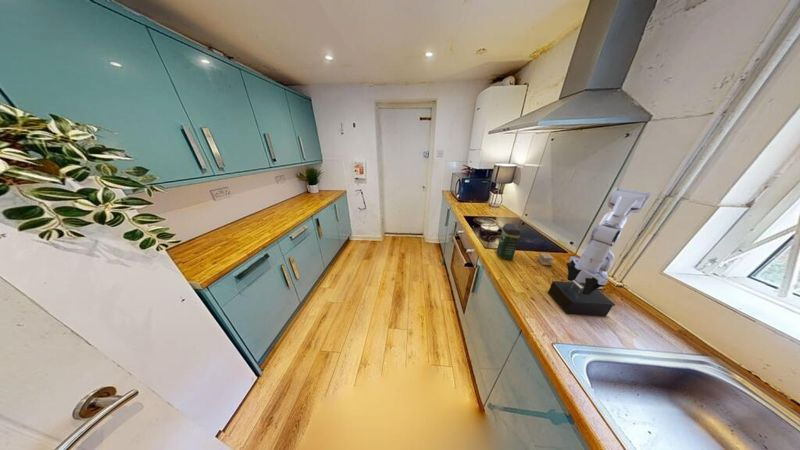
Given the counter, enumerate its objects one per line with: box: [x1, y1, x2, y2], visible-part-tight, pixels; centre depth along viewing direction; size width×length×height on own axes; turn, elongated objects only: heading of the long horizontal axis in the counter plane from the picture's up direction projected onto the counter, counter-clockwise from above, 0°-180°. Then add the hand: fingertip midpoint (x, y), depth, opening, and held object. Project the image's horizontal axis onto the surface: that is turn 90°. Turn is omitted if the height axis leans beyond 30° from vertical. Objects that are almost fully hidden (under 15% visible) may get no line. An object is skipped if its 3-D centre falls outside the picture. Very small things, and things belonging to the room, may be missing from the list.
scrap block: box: [537, 252, 554, 266], centre depth 105 cm, size 4×4×4 cm
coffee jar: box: [496, 223, 522, 261], centre depth 107 cm, size 10×8×19 cm
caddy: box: [547, 281, 613, 318], centre depth 79 cm, size 14×11×6 cm
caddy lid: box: [552, 280, 616, 307], centre depth 76 cm, size 15×11×5 cm
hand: (577, 286), depth 76 cm, fingers open, 7 cm apart
